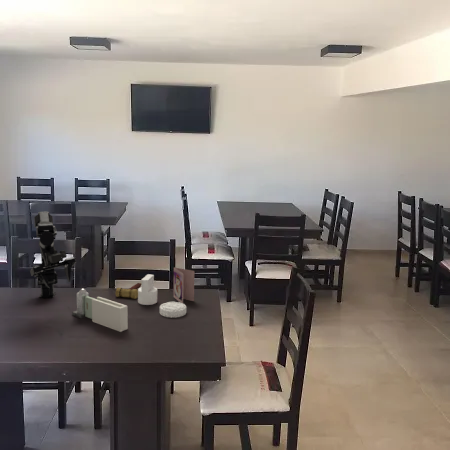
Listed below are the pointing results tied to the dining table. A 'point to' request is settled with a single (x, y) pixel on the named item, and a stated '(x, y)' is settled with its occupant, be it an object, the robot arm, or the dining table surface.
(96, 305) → the white slotted block
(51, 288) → the robot arm
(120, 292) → the gavel
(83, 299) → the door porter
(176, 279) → the greeting card
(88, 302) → the door panel
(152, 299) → the base with upright slab
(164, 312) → the mooncake
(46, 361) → the dining table surface
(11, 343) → the dining table surface
